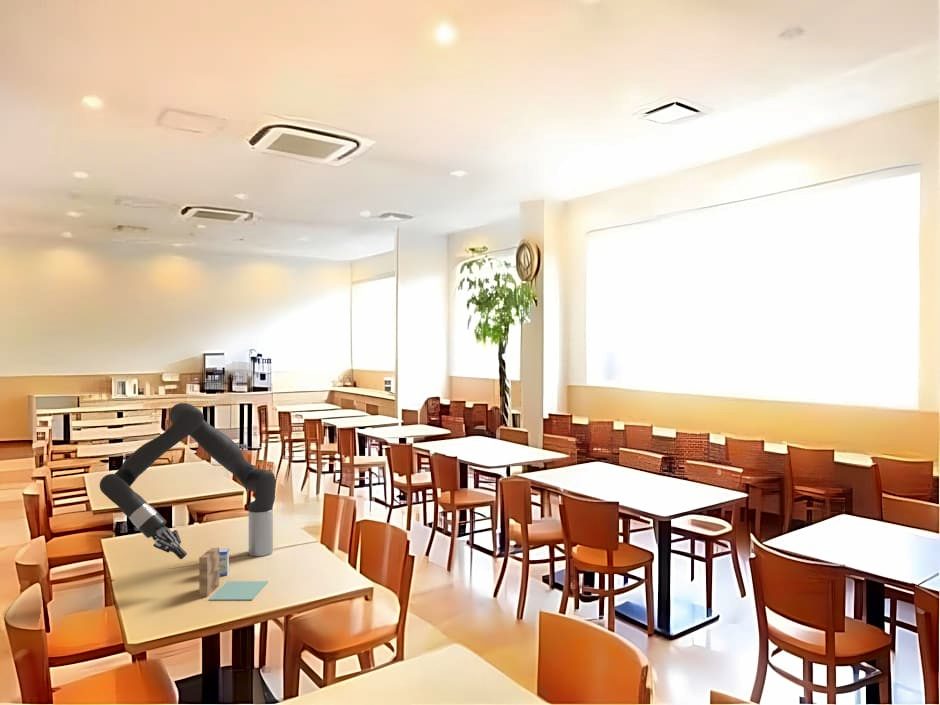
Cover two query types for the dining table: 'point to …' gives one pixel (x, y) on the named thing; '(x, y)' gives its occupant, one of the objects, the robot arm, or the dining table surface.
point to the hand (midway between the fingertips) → (184, 556)
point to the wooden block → (208, 572)
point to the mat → (238, 590)
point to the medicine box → (223, 561)
